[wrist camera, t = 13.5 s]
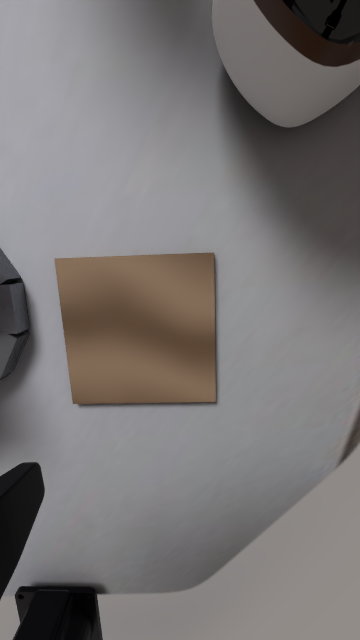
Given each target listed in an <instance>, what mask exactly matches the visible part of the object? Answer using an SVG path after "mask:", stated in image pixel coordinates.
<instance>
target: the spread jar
mask: <svg viewBox="0 0 360 640" xmlns="http://www.w3.org/2000/svg"><path fill="white" fill-rule="evenodd" d="M212 26H213V34H214V39H215V43H216V46H217V49H218V53H219V55H220V58H221V60H222V63H223V65H224V67H225V69H226V71H227V73H228V75H229V76H230V78H231V80H232V81H233V83H234V85H235V86H236V88H237V89H238V90H239V92H240V93H241V94H242V96H243V97H244V98H245V99H246V100H247V101H248V103H249V104H250V105H251V106H252V107H253V108H254V109H255V110H256V111H258V112H259V113H260V114H261V115H262V116H263V117H265V118H266V119H267V120H269V121H271V122H272V123H274V124H276V125H279V126H281V127H287V128H290V127H297V126H300V125H303V124H305V123H307V122H309V121H311V120H313V119H315V118H317V117H318V116H320V115H322V114H323V113H325V112H326V111H328V110H329V109H331V108H332V107H334V106H335V105H337V104H338V103H339V102H340V101H342V100H343V99H344V98H346V97H347V96H348V95H349V94H350V93H351V92H353V91H354V90H355V89H356V88H357V87H358V86H359V85H360V0H213V5H212Z"/></svg>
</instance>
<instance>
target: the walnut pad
mask: <svg viewBox="0 0 360 640" xmlns="http://www.w3.org/2000/svg"><path fill="white" fill-rule="evenodd" d="M55 266H56V273H57V281H58V289H59V297H60V305H61V313H62V321H63V329H64V337H65V345H66V352H67V360H68V368H69V376H70V384H71V392H72V400H73V404H98V403H169V402H216V377H215V289H214V253H192V254H165V255H139V256H113V257H86V258H60V259H55Z"/></svg>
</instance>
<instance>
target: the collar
mask: <svg viewBox="0 0 360 640" xmlns="http://www.w3.org/2000/svg"><path fill="white" fill-rule="evenodd" d="M20 278H21V277H20V275H19V274H18V272H17V271H16V270H15V268H14V267H13V266H12V264H11V263H10V261H9V260H8V259H7V257H6V256H5V254H4V253H3V252H2V250H1V249H0V380H1V379H3V378H4V377H6V376H7V375H9V374H10V373H11V371H13V370H14V368H15V366H16V364H17V361H18V359H19V356H20V354H21V352H22V349H23V347H24V345H25V342H26V340H27V337H28V335H29V332H27V331H25V330H27V329H29V328H30V324H29V317H28V311H27V304H26V298H25V291H24V284H23V282H21V283H14V282H15V281H17V280H18V279H20Z"/></svg>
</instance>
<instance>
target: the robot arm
mask: <svg viewBox="0 0 360 640" xmlns="http://www.w3.org/2000/svg"><path fill="white" fill-rule="evenodd" d="M44 492H45V488H44V482H43V477H42V472H41V467H40V465H39V464H38V463H37V462H28V463H21V464H20V465H18V466H16V467H15V468H13V469H11V470H10V471H8V472H6V473H5V474H3V475H2V476H0V599H1V597H2V595H3V593H4V591H5V589H6V587H7V585H8V583H9V581H10V579H11V577H12V575H13V573H14V570H15V568H16V566H17V564H18V562H19V559H20V557H21V554H22V552H23V549H24V547H25V544H26V542H27V539H28V537H29V534H30V531H31V529H32V526H33V524H34V521H35V519H36V516H37V513H38V511H39V508H40V506H41V503H42V501H43V498H44ZM15 599H16V604H17V609H18V614H19V618H20V625H19V627H18V630H17V632H16V634H15V636H14V638H13V640H103V639H102V631H101V624H100V616H99V608H98V600H97V592H96V590H95V589H94V588H90V587H31V586H22V587H19V588H18V590H17V592H16V594H15Z"/></svg>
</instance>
